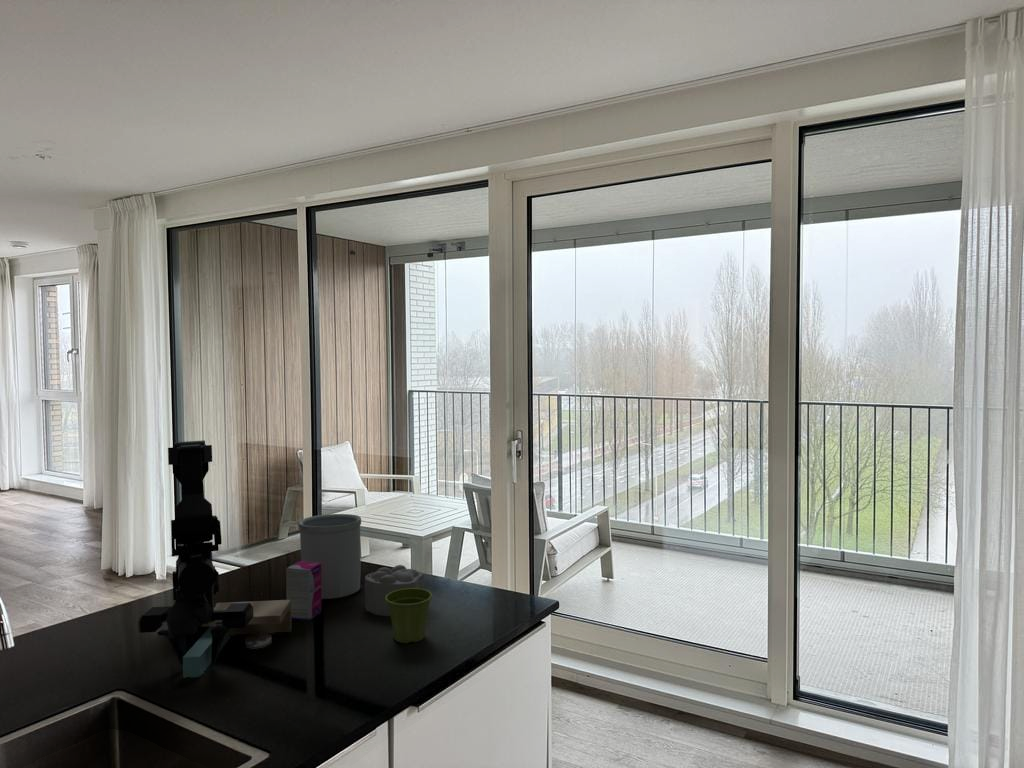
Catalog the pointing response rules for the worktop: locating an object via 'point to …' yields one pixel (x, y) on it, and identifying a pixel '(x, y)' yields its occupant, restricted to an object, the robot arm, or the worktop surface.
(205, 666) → the dark grey-teal rectangular block
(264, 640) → the steel token
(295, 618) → the supplement box
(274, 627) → the oak plinth shelf
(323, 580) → the utensil holder
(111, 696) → the worktop surface
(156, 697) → the worktop surface
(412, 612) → the plant pot
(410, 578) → the lumpy-topped squat cylinder
